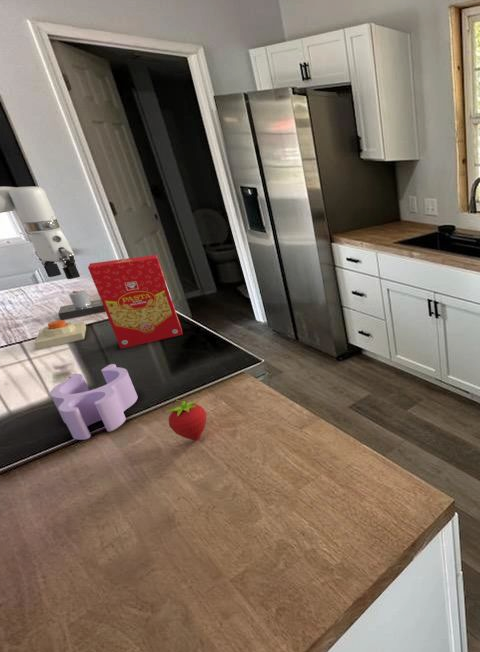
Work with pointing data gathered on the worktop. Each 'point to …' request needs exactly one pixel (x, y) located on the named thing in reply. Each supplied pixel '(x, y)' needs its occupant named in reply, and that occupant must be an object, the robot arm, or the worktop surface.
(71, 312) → the hob panel
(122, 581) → the worktop surface
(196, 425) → the strawberry
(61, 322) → the kettle button
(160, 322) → the food packaging
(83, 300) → the hob dial
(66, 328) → the cream flat block
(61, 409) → the clip
